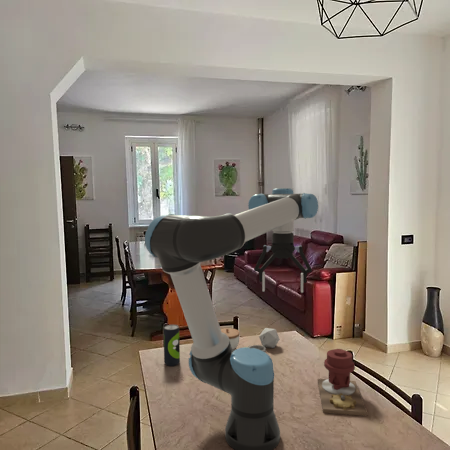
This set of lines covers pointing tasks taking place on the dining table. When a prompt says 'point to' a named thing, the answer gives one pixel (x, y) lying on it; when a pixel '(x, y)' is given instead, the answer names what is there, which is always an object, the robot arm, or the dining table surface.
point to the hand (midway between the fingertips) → (282, 291)
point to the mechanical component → (339, 367)
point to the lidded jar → (232, 336)
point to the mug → (258, 347)
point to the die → (269, 338)
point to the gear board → (341, 399)
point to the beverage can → (171, 345)
